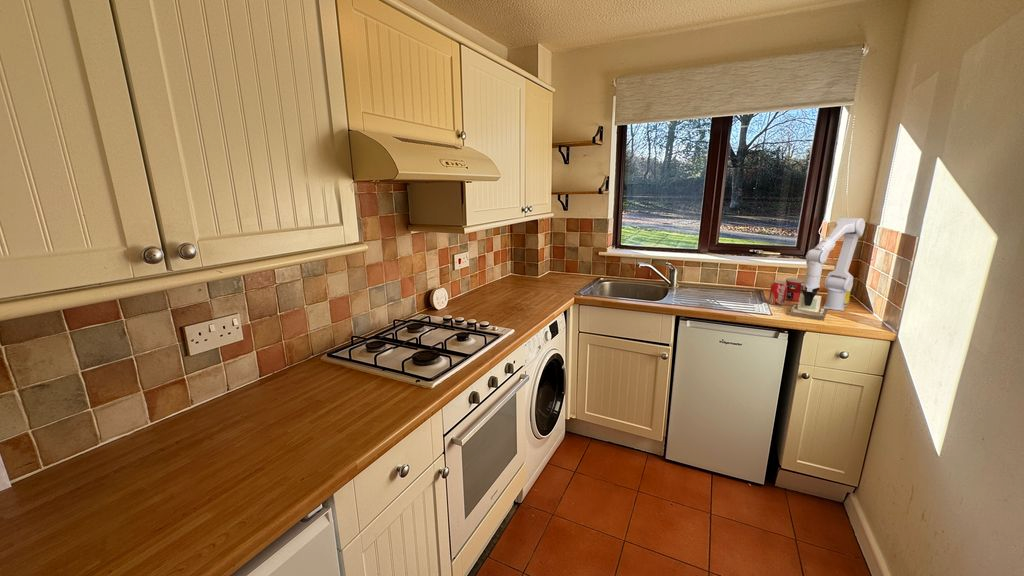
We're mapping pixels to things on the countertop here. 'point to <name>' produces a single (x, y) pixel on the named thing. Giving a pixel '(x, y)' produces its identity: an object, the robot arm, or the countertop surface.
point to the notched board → (807, 313)
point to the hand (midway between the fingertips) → (808, 303)
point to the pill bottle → (847, 298)
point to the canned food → (794, 289)
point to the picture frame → (814, 305)
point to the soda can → (778, 293)
